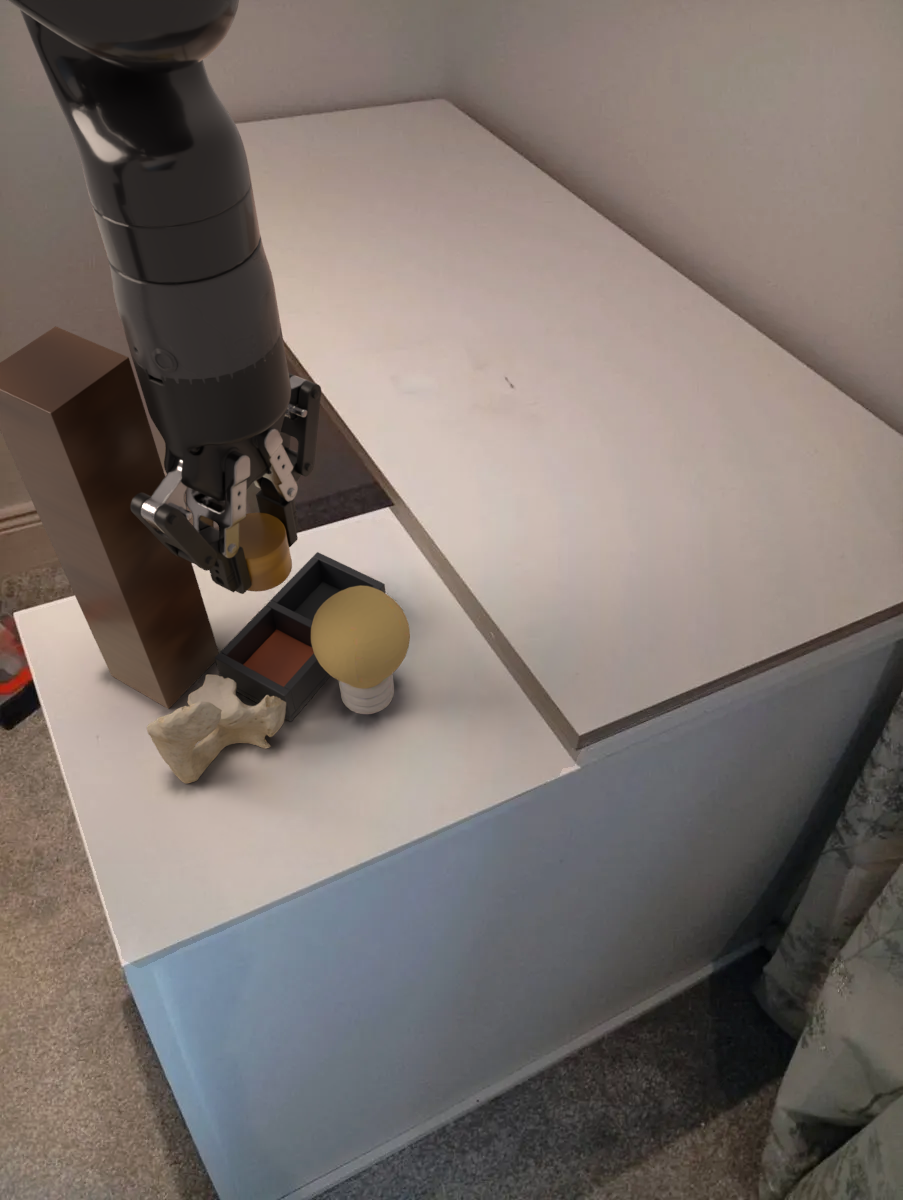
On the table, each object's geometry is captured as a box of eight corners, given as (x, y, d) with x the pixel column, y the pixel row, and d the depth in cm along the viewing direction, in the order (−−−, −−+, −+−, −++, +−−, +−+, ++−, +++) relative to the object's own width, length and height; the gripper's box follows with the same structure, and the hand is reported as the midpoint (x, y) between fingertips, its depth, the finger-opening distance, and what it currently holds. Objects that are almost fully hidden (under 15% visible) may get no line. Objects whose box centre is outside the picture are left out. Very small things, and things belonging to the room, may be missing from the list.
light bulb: (360, 751, 66) (347, 662, 58) (304, 693, 69) (285, 601, 62) (431, 700, 69) (428, 608, 61) (375, 646, 72) (365, 552, 64)
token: (265, 601, 60) (257, 568, 58) (215, 576, 62) (206, 542, 59) (304, 560, 62) (299, 527, 60) (256, 536, 64) (248, 503, 62)
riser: (168, 709, 68) (50, 413, 49) (111, 676, 70) (-25, 378, 51) (220, 656, 71) (129, 357, 52) (164, 625, 73) (55, 325, 54)
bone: (270, 657, 69) (262, 638, 60) (301, 743, 69) (298, 737, 59) (151, 699, 68) (123, 687, 58) (181, 787, 67) (158, 790, 57)
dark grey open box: (291, 722, 68) (285, 696, 65) (222, 683, 70) (213, 657, 67) (387, 610, 74) (385, 583, 72) (321, 578, 76) (317, 551, 74)
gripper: (238, 243, 54) (282, 476, 67) (42, 379, 46) (135, 612, 59) (349, 281, 51) (372, 516, 64) (161, 433, 43) (231, 665, 56)
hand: (258, 561), depth 62 cm, fingers closed on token, 4 cm apart
